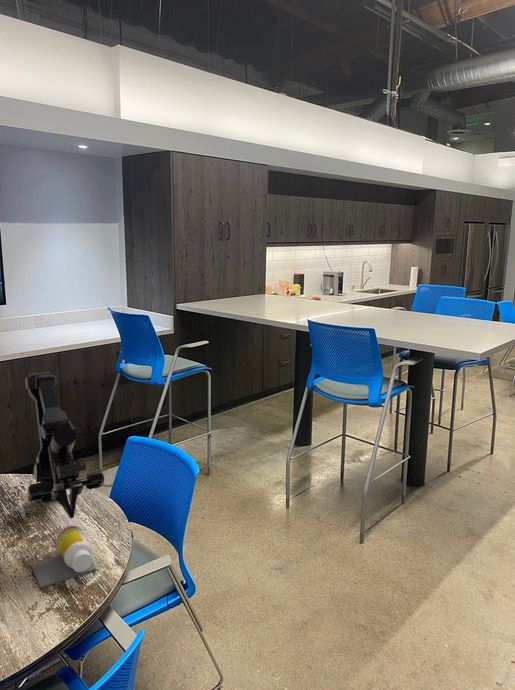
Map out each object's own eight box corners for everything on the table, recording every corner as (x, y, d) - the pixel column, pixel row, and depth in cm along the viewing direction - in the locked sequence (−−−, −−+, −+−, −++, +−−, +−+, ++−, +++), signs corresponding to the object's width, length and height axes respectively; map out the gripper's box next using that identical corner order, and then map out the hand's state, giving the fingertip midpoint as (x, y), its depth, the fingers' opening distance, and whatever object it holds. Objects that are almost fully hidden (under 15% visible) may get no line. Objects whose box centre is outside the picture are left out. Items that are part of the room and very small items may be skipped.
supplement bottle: (50, 541, 133) (61, 569, 123) (68, 519, 135) (81, 545, 124) (70, 552, 137) (83, 580, 126) (87, 531, 138) (102, 557, 128)
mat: (30, 565, 129) (30, 563, 129) (83, 549, 137) (83, 547, 137) (40, 588, 121) (40, 586, 121) (96, 570, 129) (96, 568, 129)
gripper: (26, 455, 131) (35, 516, 125) (102, 443, 141) (114, 499, 134) (23, 472, 140) (32, 530, 133) (95, 459, 149) (106, 513, 142)
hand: (72, 517), depth 135 cm, fingers closed
